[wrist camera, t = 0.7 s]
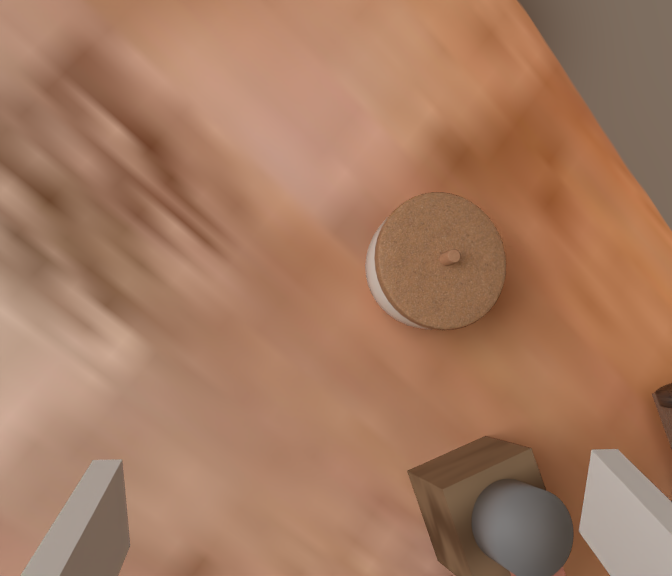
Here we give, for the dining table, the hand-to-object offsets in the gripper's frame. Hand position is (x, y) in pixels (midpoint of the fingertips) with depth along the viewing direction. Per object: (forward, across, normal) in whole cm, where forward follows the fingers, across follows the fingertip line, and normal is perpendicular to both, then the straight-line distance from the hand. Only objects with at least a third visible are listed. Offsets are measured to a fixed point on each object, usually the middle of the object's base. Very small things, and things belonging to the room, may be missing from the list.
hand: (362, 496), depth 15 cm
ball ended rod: (+20, -16, +22) cm, 33 cm away
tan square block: (+28, -13, +20) cm, 37 cm away
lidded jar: (+35, -8, +2) cm, 36 cm away
